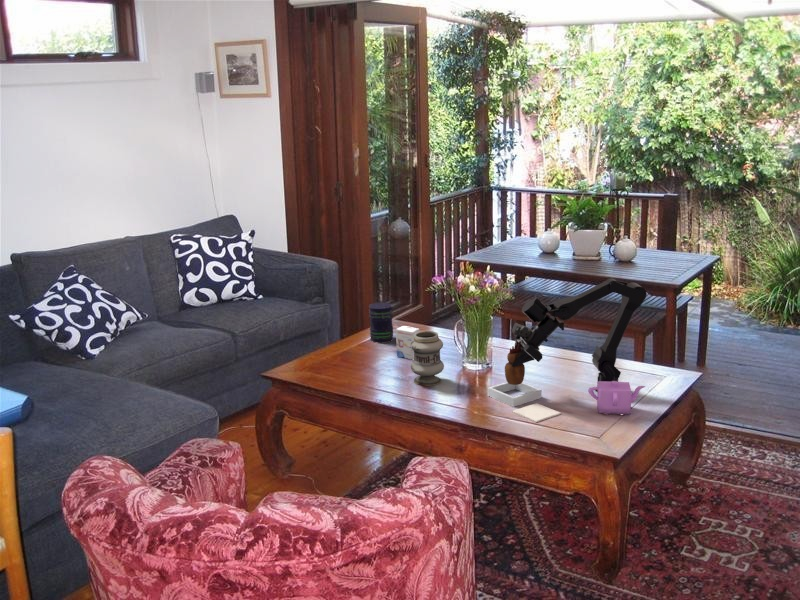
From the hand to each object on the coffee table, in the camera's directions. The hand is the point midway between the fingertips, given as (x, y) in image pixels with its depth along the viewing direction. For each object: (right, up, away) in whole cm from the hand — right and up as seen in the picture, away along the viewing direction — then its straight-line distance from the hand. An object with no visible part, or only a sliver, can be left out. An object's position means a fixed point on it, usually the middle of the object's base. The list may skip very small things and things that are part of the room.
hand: (510, 363), depth 292 cm
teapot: (+33, -15, -12) cm, 38 cm away
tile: (+7, -15, -11) cm, 20 cm away
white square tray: (+2, -12, +3) cm, 12 cm away
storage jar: (-45, +5, +71) cm, 85 cm away
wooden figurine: (+2, -7, +2) cm, 8 cm away
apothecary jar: (-28, -8, +21) cm, 35 cm away
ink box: (-34, -1, +48) cm, 59 cm away
